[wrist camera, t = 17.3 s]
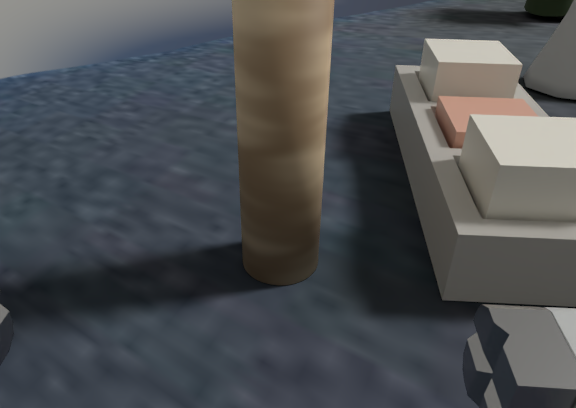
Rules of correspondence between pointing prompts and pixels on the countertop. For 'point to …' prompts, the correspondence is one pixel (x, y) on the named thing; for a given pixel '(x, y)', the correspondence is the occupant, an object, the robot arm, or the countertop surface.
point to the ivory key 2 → (521, 167)
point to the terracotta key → (458, 109)
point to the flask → (556, 61)
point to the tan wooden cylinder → (281, 132)
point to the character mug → (548, 7)
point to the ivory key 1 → (468, 69)
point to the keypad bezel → (476, 217)
